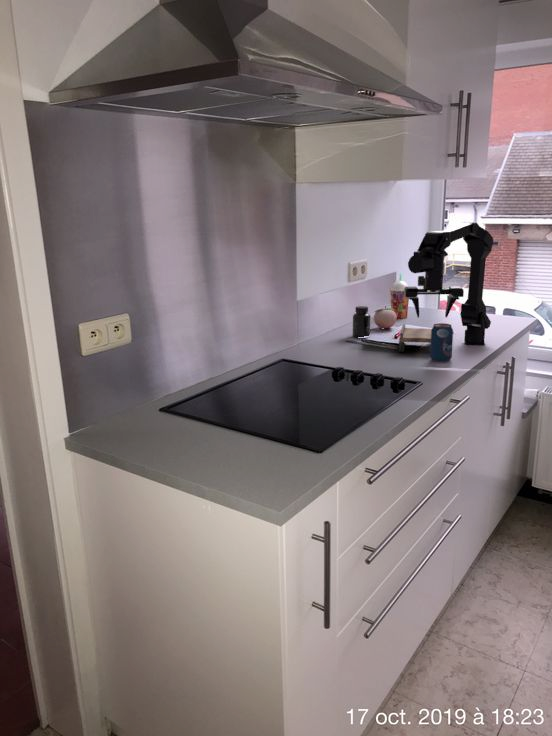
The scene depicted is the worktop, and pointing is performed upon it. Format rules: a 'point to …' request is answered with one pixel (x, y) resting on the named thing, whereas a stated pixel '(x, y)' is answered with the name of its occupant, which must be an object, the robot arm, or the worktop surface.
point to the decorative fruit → (385, 317)
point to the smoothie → (399, 299)
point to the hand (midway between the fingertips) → (432, 317)
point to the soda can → (441, 343)
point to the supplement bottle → (361, 322)
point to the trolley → (413, 336)
